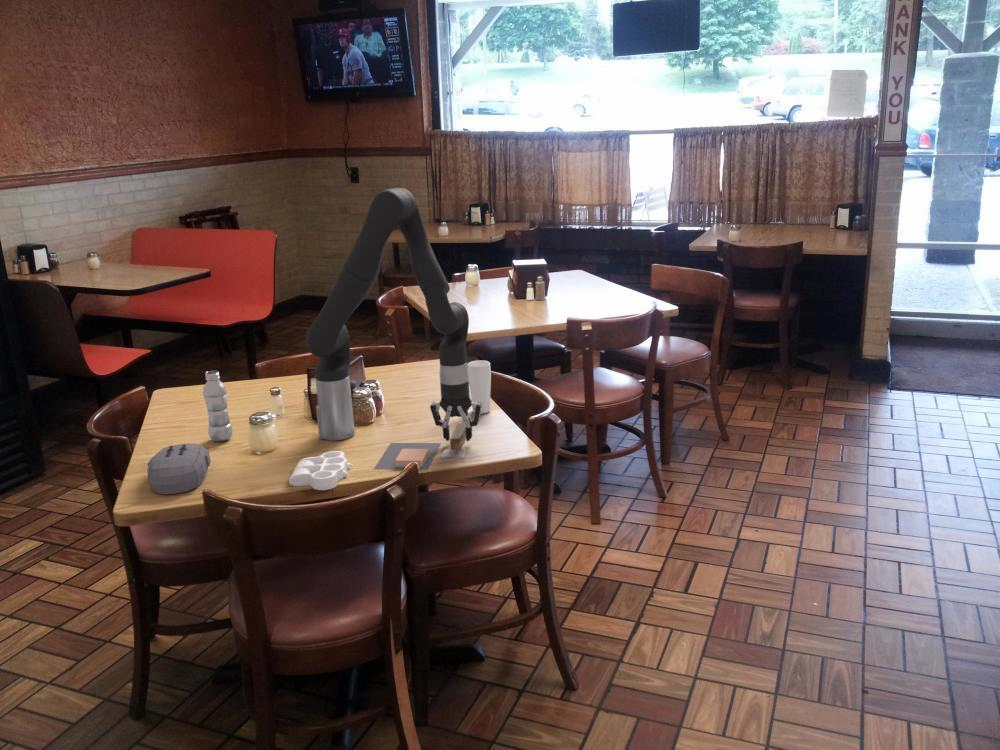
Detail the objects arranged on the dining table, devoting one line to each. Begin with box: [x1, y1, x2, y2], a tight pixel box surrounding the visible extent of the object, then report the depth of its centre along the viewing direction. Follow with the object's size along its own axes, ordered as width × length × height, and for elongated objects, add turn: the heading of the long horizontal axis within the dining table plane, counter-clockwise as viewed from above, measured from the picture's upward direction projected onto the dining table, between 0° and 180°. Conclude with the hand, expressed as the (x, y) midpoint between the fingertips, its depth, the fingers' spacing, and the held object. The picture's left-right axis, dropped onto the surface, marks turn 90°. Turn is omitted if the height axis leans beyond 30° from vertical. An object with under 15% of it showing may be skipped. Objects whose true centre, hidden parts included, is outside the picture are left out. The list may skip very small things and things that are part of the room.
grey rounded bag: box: [146, 443, 212, 495], centre depth 223 cm, size 15×8×20 cm
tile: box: [395, 449, 429, 468], centre depth 227 cm, size 7×2×8 cm
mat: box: [373, 442, 442, 471], centre depth 232 cm, size 14×18×1 cm
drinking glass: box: [467, 359, 492, 415], centre depth 262 cm, size 7×7×15 cm
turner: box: [440, 422, 468, 459], centre depth 236 cm, size 6×17×4 cm, turn 173°
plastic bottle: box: [202, 370, 233, 442], centre depth 248 cm, size 6×7×20 cm
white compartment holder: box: [288, 450, 354, 491], centre depth 223 cm, size 3×18×15 cm
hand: (458, 439), depth 237 cm, fingers open, 5 cm apart
